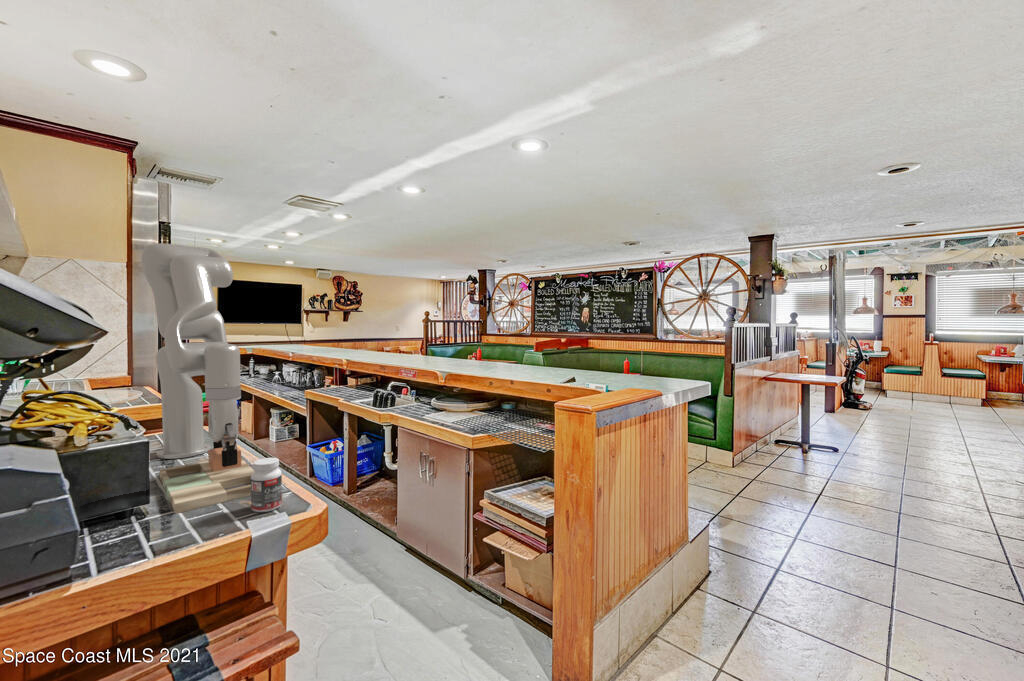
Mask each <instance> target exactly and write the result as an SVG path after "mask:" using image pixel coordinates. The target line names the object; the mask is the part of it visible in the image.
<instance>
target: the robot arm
mask: <svg viewBox="0 0 1024 681" xmlns="http://www.w3.org/2000/svg"><path fill="white" fill-rule="evenodd" d="M141 267H142V272H143V275H144V277H145V279H146V281H147V283H148V285H149V287H150V289H151V291H152V293H153V298H154V306H155V307H154V308H155V313H156V314H155V315H156V320H157V321H156V322H157V327H158V331H159V334H160V335H161V337H162V338H164V346H162V347H161V348H159V349H158V351H156V355H155V364H156V368H157V372H158V376H159V377H158V378H159V381H160V382H159V383H160V394H161V396H160V398H161V417H162V419H161V420H162V444H163V446H162V448H160V449H159V450H157V452H156V457H157V458H159V459H163V460H167V459H168V460H174V459H175V460H176V459H184V458H189V457H195V456H199V455H202V454H205V453H208V450H210V449H211V444H210V443H207V442H205V441H204V440H205V439H204V412H203V411H204V407H203V406H204V405H203V404H204V403H203V402H204V401H203V389H202V388H201V386H200V385H199V384H198V383H197V382H195V381H194V380H193V378H192V377H197V376H204V388H205V389H204V391H205V392H204V394H205V402H208V403H209V404H208V427H207V429H208V432H207V434H208V436H209V438H210V439H211V440H213V443H212V444H213V446H212V447H213V448H212V449H216V448H222V447H223V450H222V466H223V467H227V466H232V465H237V463H238V460H237V447H238V446H237V440H236V439H238V437H239V414H238V403H237V402H238V401H237V400H240V399H241V398H242V387H241V386H242V385H241V384H242V382H241V351H240V348H239V346H238V345H236V344H232V343H228V340H227V332H226V326H225V320H224V318H223V316H222V314H221V313H220V311H219V310H217V307H218V304H217V301H216V300H217V299H216V297H215V293H214V288H227V287H229V286H231V284H232V282H233V281H234V280H233V279H234V271H233V267H232V265H231V263H230V262H229V261H228V259H226V257H224V256H223V255H221V254H220V253H218V252H217V251H216V250H215V249H212V248H207V247H199V246H193V245H181V244H173V243H162V242H161V243H159V242H158V243H151V244H148V245H146V246H145V247H144V248H143V249H142V253H141ZM184 340H187V341H188V340H203V341H204V342H183V341H184Z"/></svg>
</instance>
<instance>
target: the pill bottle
mask: <svg viewBox="0 0 1024 681" xmlns="http://www.w3.org/2000/svg"><path fill="white" fill-rule="evenodd" d="M279 466H280V460H279V458H277V457H265V458H260V459H256V460H255V461H253V470H254V471H255V472H253V473H252V475H251V496H250V506H251V507H250V508H251V510H252V511H253V512H255V513H269V512H271V511H275V510H277V509H279V508H280V507H281V506H282V503H283V488H282V486H283V484H282V483H283V480H282V479H283V476H282V470H281V469H280V468H279Z"/></svg>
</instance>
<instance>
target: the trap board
mask: <svg viewBox="0 0 1024 681" xmlns="http://www.w3.org/2000/svg"><path fill="white" fill-rule="evenodd" d="M241 465H242V466H239V467H234V468H229V469H224V470H219V471H213V470H212V469H211V468H210V466H209V460H206V461H200V462H195V463H194V462H193V463H188V464H183V465H177V466H172V467H166V468H161V469H159V472H158V473H159V479H160V481H162V482H161V484H162V483H163V484H162V486H163V488H165V489H164V491H165V490H166V491H165V493H166V496H167V495H168V496H167V498H168V500H169V502H170V505H171V507H172V509H173V511H174V514H180V513H183V512H184V513H185V512H187V511H192V510H196V509H200V508H201V509H202V508H205V507H208V506H213V505H218V504H221V503H226V502H230V501H234V500H238V498H239V499H243V498H247V497H249V496H250V497H251V475H252V473H253V472H255V469H254V468H252V466H250V465H249V464H248V463H247V461H245V460H244V459H243V458H242V457H241ZM242 497H243V498H242Z"/></svg>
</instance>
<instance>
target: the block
mask: <svg viewBox="0 0 1024 681" xmlns="http://www.w3.org/2000/svg"><path fill="white" fill-rule="evenodd" d="M222 450H223V447H222V448H216V449H213V448H210V450H208V451H207V454H208V461H209V466H210V468H211V469H212V470H213V471H219V470H224V469H229V468H234V467H239V466H242V465H241V458H242V450H241V449H240V448H239V447H238V446H237V460H238V463H237V465H232V466H227V467H223V466H222Z"/></svg>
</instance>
